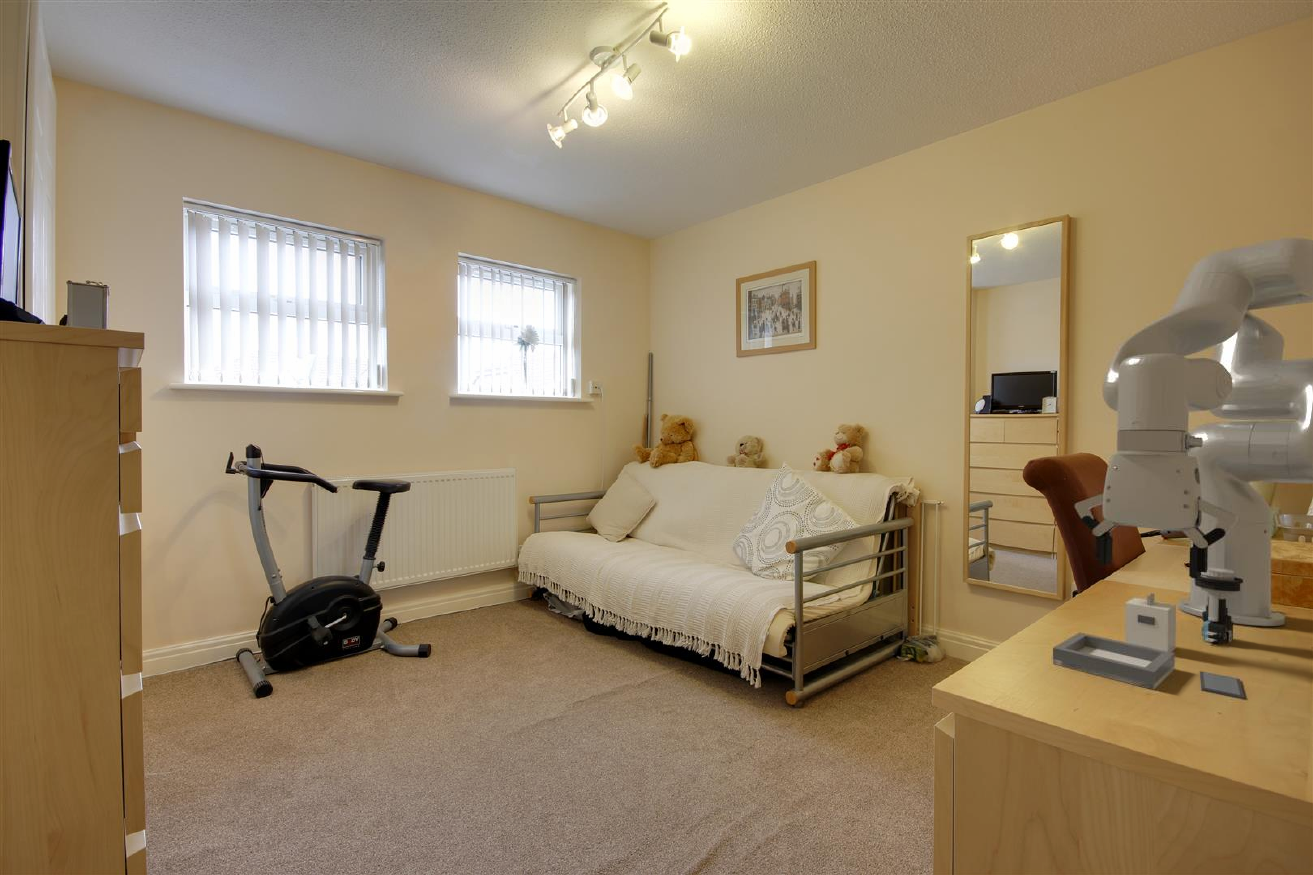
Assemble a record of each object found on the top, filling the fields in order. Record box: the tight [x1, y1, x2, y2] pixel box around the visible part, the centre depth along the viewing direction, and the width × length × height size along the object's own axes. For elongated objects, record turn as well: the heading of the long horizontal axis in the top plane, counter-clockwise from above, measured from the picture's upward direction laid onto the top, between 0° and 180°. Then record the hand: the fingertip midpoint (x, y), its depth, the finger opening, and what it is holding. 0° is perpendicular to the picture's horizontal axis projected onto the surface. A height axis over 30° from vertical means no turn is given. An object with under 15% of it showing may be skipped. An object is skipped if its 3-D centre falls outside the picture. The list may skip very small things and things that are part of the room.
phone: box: [1199, 670, 1246, 700], centre depth 70 cm, size 7×4×1 cm, turn 139°
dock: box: [1052, 632, 1176, 691], centre depth 75 cm, size 10×10×2 cm
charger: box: [1124, 593, 1177, 653], centre depth 82 cm, size 5×4×7 cm
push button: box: [1195, 567, 1243, 645], centre depth 85 cm, size 7×5×10 cm
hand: (1148, 570), depth 82 cm, fingers open, 9 cm apart
